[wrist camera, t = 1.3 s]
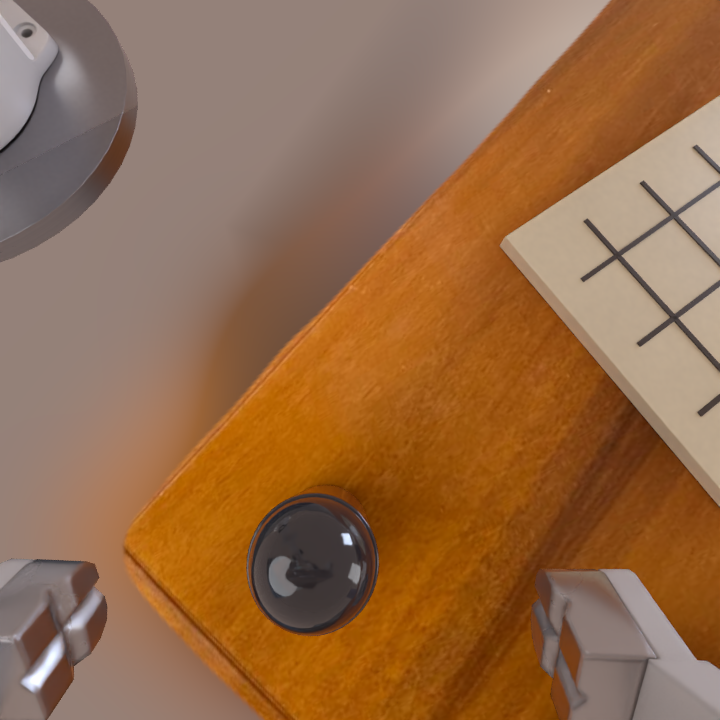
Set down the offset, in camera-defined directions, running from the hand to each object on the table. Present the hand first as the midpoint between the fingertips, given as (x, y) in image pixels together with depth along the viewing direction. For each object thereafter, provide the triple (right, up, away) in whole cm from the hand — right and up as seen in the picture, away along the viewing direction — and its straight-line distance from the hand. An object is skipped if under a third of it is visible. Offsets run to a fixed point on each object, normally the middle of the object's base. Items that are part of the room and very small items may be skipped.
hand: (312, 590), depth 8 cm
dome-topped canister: (-1, -5, +16) cm, 17 cm away
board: (+24, +9, +20) cm, 32 cm away
